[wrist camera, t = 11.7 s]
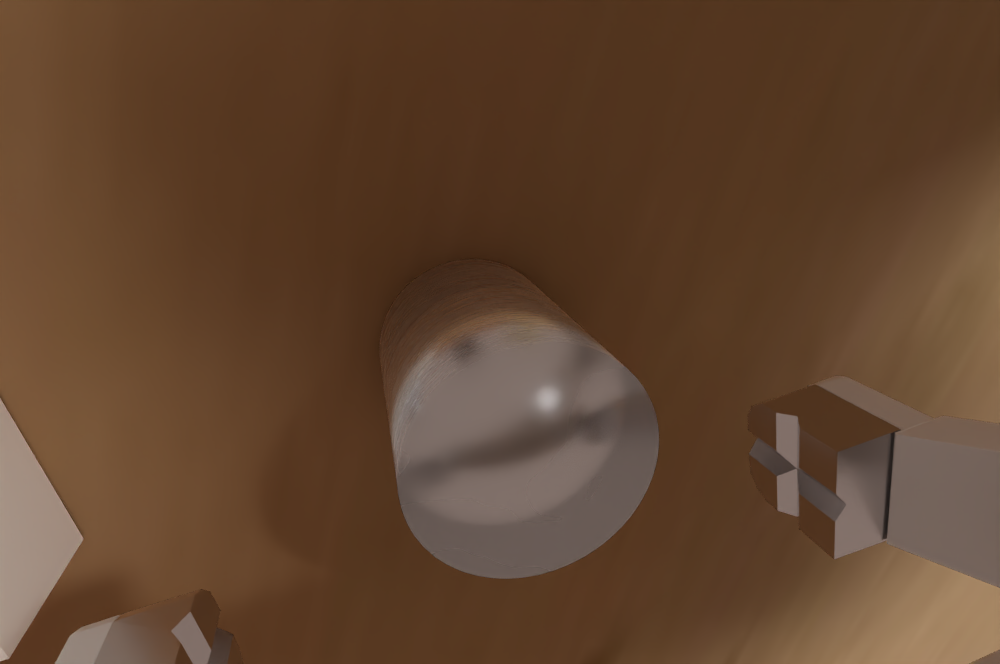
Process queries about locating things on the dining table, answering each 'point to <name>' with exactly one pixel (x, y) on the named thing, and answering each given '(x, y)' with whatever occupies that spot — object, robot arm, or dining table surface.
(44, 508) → the scale
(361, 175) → the dining table surface
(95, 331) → the dining table surface
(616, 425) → the cylinder
